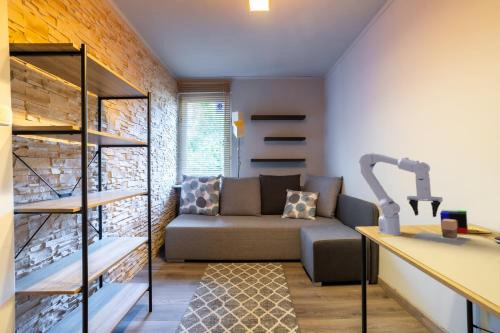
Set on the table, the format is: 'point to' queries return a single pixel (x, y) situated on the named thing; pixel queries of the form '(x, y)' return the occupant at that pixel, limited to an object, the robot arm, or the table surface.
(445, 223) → the terracotta block
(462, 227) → the puzzle toy
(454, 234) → the walnut block
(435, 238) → the mat
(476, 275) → the table surface
